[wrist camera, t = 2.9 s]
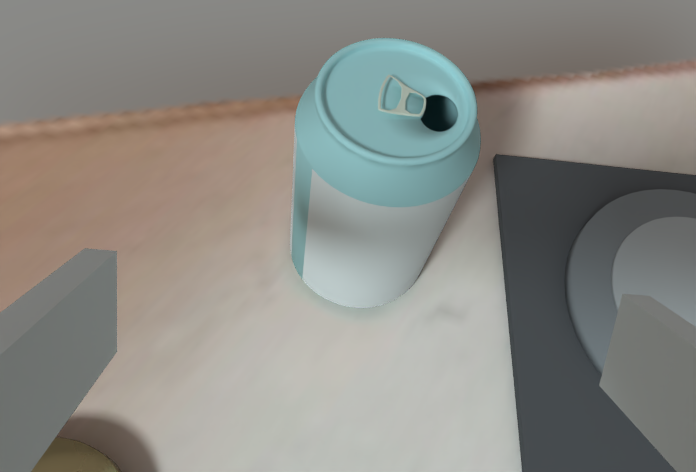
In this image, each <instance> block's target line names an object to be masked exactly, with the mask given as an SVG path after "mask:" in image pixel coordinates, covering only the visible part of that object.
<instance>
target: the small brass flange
mask: <svg viewBox="0 0 696 472" xmlns="http://www.w3.org/2000/svg"><path fill="white" fill-rule="evenodd" d="M31 472H122V471H121V470H120V469H119V468H118V466H117V465H116V464H115V463H114V462H113V461H112V460H111V459H110V458H108V457H107V456H106V455H104V454H103V453H101V452H100V451H98V450H96V449H94V448H92V447H91V446H88V445H86V444H84V443H82V442H79V441H75V440H72V439H66V438H55V439H54V440H53V442H52V443H51V444H50V446H49V447H48V449H47V450H46V451H45V453H44V454H43V456H42V457H41V458H40V460H39V461H38V463H37V464H36V465H35V467H34V468H33V469H32V471H31Z"/></svg>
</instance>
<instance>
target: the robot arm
mask: <svg viewBox="0 0 696 472" xmlns="http://www.w3.org/2000/svg"><path fill="white" fill-rule="evenodd" d="M116 352H117V251H110V250H98V249H86V248H85V249H84V250H82V251H81V252H80V253H78V254H77V255H76V256H74V257H73V258H72V259H70V260H69V261H68V262H66V263H65V264H64V265H62V266H61V267H60V268H59V269H57V270H56V271H55V272H53V273H52V274H51V275H49V276H48V277H47V278H45V279H44V280H43V281H41V282H40V283H39V284H37V285H36V286H35V287H34V288H32V289H31V290H30V291H28V292H27V293H26V294H24V295H23V296H22V297H20V298H19V299H18V300H16V301H15V302H14V303H12V304H11V305H10V306H8V307H7V308H6V309H5V310H3V311H2V312H1V313H0V472H31V471H32V469H33V468H34V467H35V465H36V464H37V463H38V461H39V460H40V458H41V457H42V456H43V454H44V453H45V451H46V450H47V449H48V447H49V446H50V444H51V443H52V442H53V440H54V439H55V437H56V436H57V435H58V433H59V432H60V430H61V429H62V428H63V426H64V425H65V423H66V422H67V421H68V419H69V418H70V416H71V415H72V414H73V412H74V411H75V409H76V408H77V407H78V405H79V404H80V402H81V401H82V400H83V398H84V397H85V395H86V394H87V393H88V391H89V390H90V389H91V387H92V386H93V384H94V383H95V382H96V380H97V379H98V377H99V376H100V375H101V373H102V372H103V370H104V369H105V368H106V366H107V365H108V363H109V362H110V361H111V359H112V358H113V356H114V355H115V354H116ZM599 386H600V387H601V388H602V389H603V390H604V392H605V393H606V394H607V395H608V396H609V397H610V398H611V399H612V400H613V402H614V403H615V404H616V405H617V406H618V407H619V408H620V409H621V410H622V412H623V413H624V414H625V415H626V416H627V417H628V418H629V419H630V420H631V422H632V423H633V424H634V425H635V426H636V427H637V428H638V429H639V430H640V432H641V433H642V434H643V435H644V436H645V437H646V438H647V439H648V440H649V442H650V443H651V444H652V445H653V446H654V447H655V448H656V449H657V450H658V452H659V453H660V454H661V455H662V456H663V457H664V458H665V459H666V460H667V462H668V463H669V464H670V465H671V466H672V467H673V468H674V469H675V470H676V472H696V327H695V326H694V325H692V324H691V323H689V322H688V321H686V320H685V319H683V318H682V317H680V316H679V315H677V314H676V313H674V312H673V311H671V310H670V309H668V308H667V307H665V306H664V305H663V304H661V303H660V302H658V301H657V300H655V299H654V298H652V297H651V296H645V295H633V294H622V297H621V301H620V305H619V309H618V313H617V317H616V321H615V325H614V329H613V333H612V337H611V341H610V345H609V349H608V353H607V356H606V360H605V364H604V368H603V372H602V376H601V380H600V384H599Z"/></svg>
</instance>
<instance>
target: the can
mask: <svg viewBox="0 0 696 472" xmlns="http://www.w3.org/2000/svg"><path fill="white" fill-rule="evenodd" d="M480 144H481V137H480V127H479V123H478V120H477V101H476V97H475V93H474V91H473V88H472V86H471V84H470V82H469V81H468V79H467V78H466V76H465V75H464V74H463V72H462V71H461V70H460V69H459V68H458V67H457V66H456V65H455V64H454V63H453V62H451V61H450V60H449V59H447V58H446V57H445V56H443V55H442V54H440V53H439V52H437V51H435V50H433V49H431V48H429V47H426V46H424V45H422V44H419V43H415V42H412V41H408V40H402V39H394V38H377V39H369V40H364V41H360V42H356V43H354V44H351V45H349V46H346V47H345V48H343V49H341V50H340V51H338V52H336V53H335V54H334V55H333V56H331V57H330V58H329V59H328V60H327V61H326V63H325V64H324V66H323V67H322V68H321V70H320V72H319V74H318V76H317V77H316V78H315V79H314V80H313V82H311V84H310V85H309V86H308V87H307V89H306V90H305V92H304V94H303V95H302V97H301V99H300V102H299V104H298V107H297V110H296V116H295V134H294V159H293V184H292V209H291V234H290V251H291V256H292V260H293V263H294V265H295V268H296V270H297V272H298V274H299V275H300V277H301V278H302V279H303V281H304V282H305V283H306V284H307V285H308V286H309V287H310V288H311V289H312V290H313V291H314V292H316V293H317V294H318V295H320V296H321V297H323V298H325V299H327V300H329V301H331V302H333V303H336V304H339V305H343V306H347V307H354V308H369V307H376V306H380V305H384V304H386V303H389V302H391V301H393V300H395V299H397V298H398V297H400V296H401V295H403V294H404V293H405V292H406V291H407V290H408V289H410V287H411V286H412V285H413V284H414V282H415V281H416V279H417V278H418V276H419V274H420V272H421V270H422V268H423V266H424V264H425V262H426V260H427V258H428V256H429V255H430V253H431V251H432V249H433V247H434V245H435V243H436V241H437V239H438V237H439V235H440V233H441V231H442V229H443V227H444V225H445V224H446V222H447V220H448V218H449V216H450V214H451V212H452V210H453V208H454V206H455V204H456V202H457V200H458V198H459V196H460V194H461V193H462V191H463V189H464V187H465V185H466V183H467V181H468V179H469V177H470V175H471V173H472V171H473V169H474V167H475V165H476V163H477V160H478V157H479V153H480Z"/></svg>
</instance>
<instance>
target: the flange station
mask: <svg viewBox="0 0 696 472" xmlns="http://www.w3.org/2000/svg"><path fill="white" fill-rule="evenodd" d="M493 163H494V174H495V184H496V195H497V206H498V216H499V227H500V238H501V248H502V259H503V270H504V280H505V291H506V302H507V313H508V323H509V334H510V345H511V355H512V366H513V377H514V387H515V398H516V409H517V419H518V430H519V441H520V451H521V462H522V472H676V470H675V469H674V468H673V467H672V466H671V465H670V464H669V463H668V462H667V460H666V459H665V458H664V457H663V456H662V455H661V454H660V453H659V452H658V450H657V449H656V448H655V447H654V446H653V445H652V444H651V443H650V442H649V440H648V439H647V438H646V437H645V436H644V435H643V434H642V433H641V432H640V430H639V429H638V428H637V427H636V426H635V425H634V424H633V423H632V422H631V420H630V419H629V418H628V417H627V416H626V415H625V414H624V413H623V412H622V410H621V409H620V408H619V407H618V406H617V405H616V404H615V403H614V402H613V400H612V399H611V398H610V397H609V396H608V395H607V394H606V393H605V392H604V390H603V389H602V388H601V387H600V386H599V384H600V380H601V376H602V372H603V368H604V364H605V360H606V356H607V353H608V349H609V345H610V341H611V337H612V333H613V329H614V325H615V321H616V317H617V313H618V309H619V305H620V301H621V297H622V294H633V295H645V296H651V297H652V298H654V299H655V300H657V301H658V302H660V303H661V304H663V305H664V306H665V307H667V308H668V309H670V310H671V311H673V312H674V313H676V314H677V315H679V316H680V317H682V318H683V319H685V320H686V321H688V322H689V323H691V324H692V325H694V326H695V327H696V175H687V174H678V173H668V172H659V171H649V170H640V169H630V168H621V167H612V166H602V165H593V164H583V163H574V162H564V161H555V160H545V159H536V158H526V157H517V156H507V155H498V154H496V155H495V157H494V159H493Z"/></svg>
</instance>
